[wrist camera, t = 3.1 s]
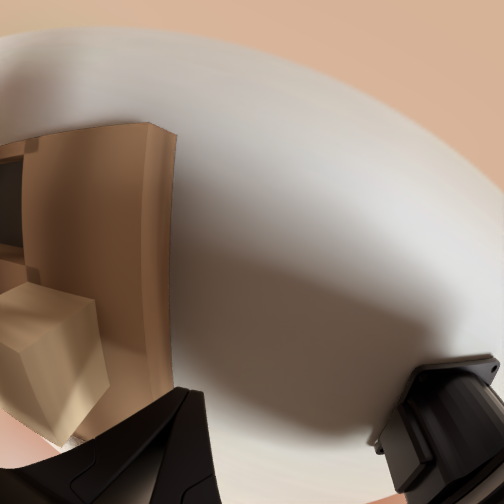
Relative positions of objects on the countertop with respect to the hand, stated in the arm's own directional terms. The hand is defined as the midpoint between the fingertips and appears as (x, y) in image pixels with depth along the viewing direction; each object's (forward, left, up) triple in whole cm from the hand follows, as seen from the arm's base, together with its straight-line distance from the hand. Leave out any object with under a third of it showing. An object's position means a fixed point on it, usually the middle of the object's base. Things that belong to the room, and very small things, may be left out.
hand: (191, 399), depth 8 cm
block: (+6, 0, -2) cm, 6 cm away
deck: (+11, 0, -4) cm, 12 cm away
